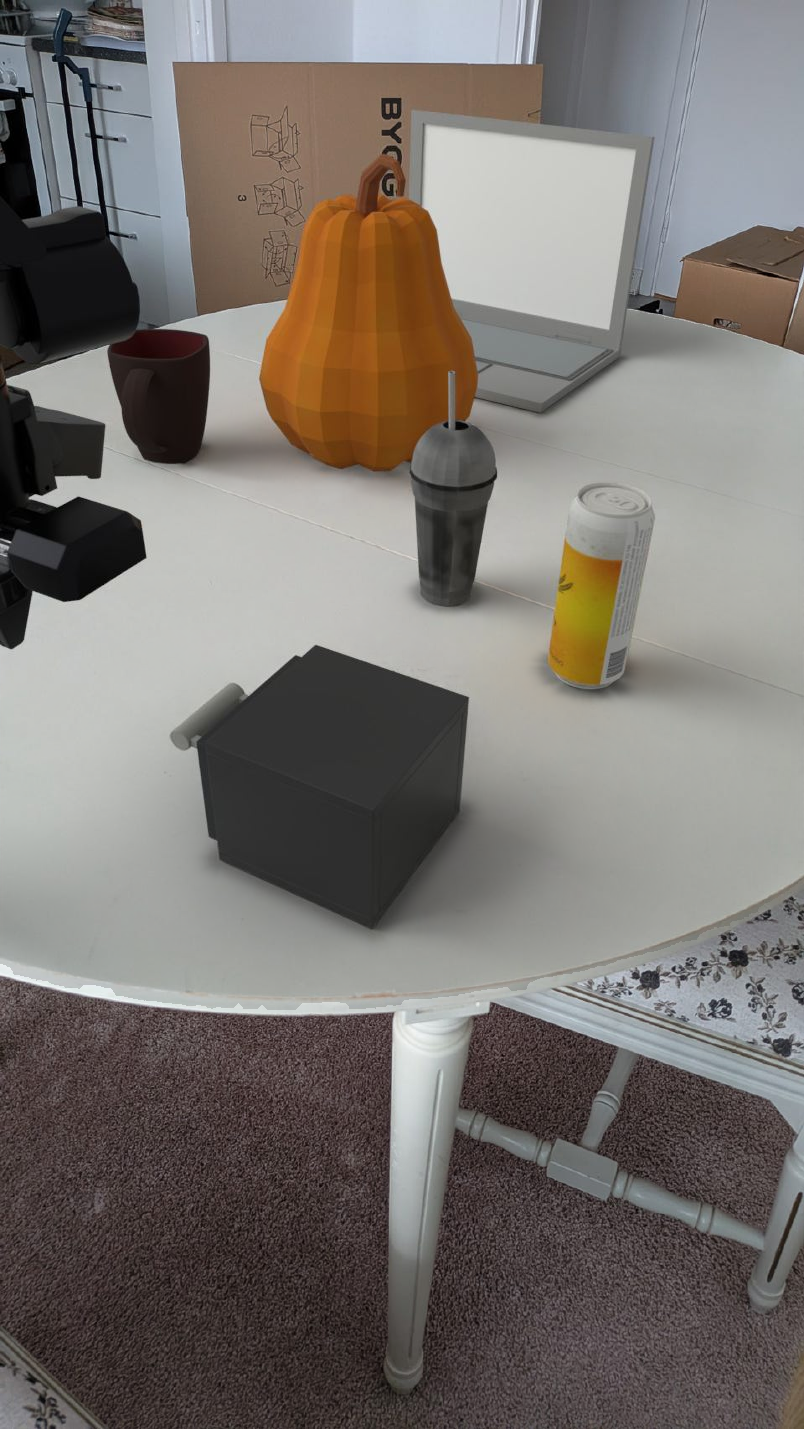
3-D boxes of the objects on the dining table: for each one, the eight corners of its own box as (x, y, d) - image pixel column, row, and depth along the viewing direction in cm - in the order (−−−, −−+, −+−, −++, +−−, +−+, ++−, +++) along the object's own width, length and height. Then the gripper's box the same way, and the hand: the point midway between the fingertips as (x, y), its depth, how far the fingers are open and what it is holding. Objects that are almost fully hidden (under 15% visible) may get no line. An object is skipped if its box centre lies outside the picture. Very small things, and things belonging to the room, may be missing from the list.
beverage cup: (501, 587, 90) (523, 364, 77) (461, 623, 85) (478, 391, 72) (432, 564, 93) (442, 346, 80) (389, 598, 88) (393, 371, 75)
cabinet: (219, 860, 62) (204, 741, 56) (319, 756, 70) (315, 644, 65) (372, 929, 58) (373, 810, 52) (459, 811, 66) (469, 696, 61)
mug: (228, 440, 114) (219, 332, 107) (188, 492, 103) (175, 377, 96) (145, 432, 115) (130, 325, 108) (97, 483, 104) (77, 368, 97)
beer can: (577, 641, 83) (605, 472, 74) (638, 672, 80) (674, 499, 70) (531, 669, 80) (553, 496, 70) (592, 703, 76) (624, 526, 67)
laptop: (310, 358, 137) (304, 130, 120) (409, 313, 155) (415, 109, 138) (540, 413, 123) (569, 165, 106) (620, 357, 141) (655, 136, 124)
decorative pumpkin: (514, 465, 111) (544, 159, 92) (324, 511, 101) (315, 179, 82) (404, 396, 126) (411, 124, 108) (230, 430, 116) (206, 136, 98)
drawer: (156, 814, 64) (140, 719, 59) (251, 727, 71) (243, 636, 67) (343, 897, 59) (342, 801, 54) (425, 795, 66) (430, 701, 62)
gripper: (195, 374, 52) (221, 625, 62) (-57, 314, 59) (1, 549, 69) (39, 446, 44) (96, 721, 54) (-231, 368, 51) (-138, 624, 61)
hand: (12, 644), depth 59 cm, fingers closed
